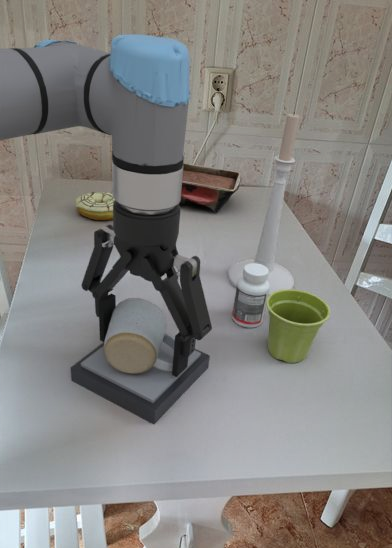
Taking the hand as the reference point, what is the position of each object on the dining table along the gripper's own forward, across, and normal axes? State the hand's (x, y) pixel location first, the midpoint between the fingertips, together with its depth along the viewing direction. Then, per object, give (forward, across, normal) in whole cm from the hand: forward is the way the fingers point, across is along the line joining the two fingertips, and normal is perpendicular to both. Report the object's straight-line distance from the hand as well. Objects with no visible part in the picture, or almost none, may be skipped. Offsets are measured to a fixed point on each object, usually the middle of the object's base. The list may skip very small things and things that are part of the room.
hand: (142, 353), depth 68 cm
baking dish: (+4, +26, -61) cm, 66 cm away
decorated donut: (+4, +40, -39) cm, 56 cm away
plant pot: (+4, -15, -18) cm, 24 cm away
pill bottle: (+4, -6, -22) cm, 23 cm away
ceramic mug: (+1, 0, 0) cm, 1 cm away
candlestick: (+4, -2, -36) cm, 36 cm away
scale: (+4, 0, 0) cm, 4 cm away
